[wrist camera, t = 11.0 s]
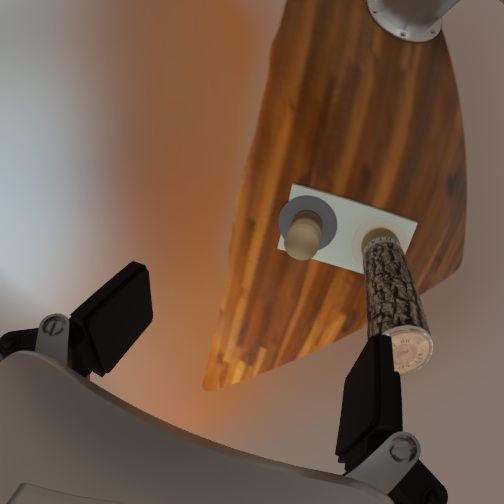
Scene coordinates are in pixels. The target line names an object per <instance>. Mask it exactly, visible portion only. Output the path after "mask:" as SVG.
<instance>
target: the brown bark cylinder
mask: <svg viewBox="0 0 504 504" xmlns="http://www.w3.org/2000/svg"><path fill="white" fill-rule="evenodd" d="M361 251H362V261H363V272H364V283H365V296H366V311H367V334H368V340H369V338H370V336H375V335H376V334H377V333H380V334H384V335H388V336H391V339H392V348H393V359H394V371H398V372H399V374H400V376H402V375H406V374H409V373H412V372H414V371H416V370H418V369H419V368H421V367H422V366H423V365H424V364H425V363H426V362H427V361H428V360H429V358H430V356H431V354H432V351H433V343H432V338H431V334H430V330H429V327H428V323H427V319H426V316H425V313H424V310H423V306H422V303H421V300H420V297H419V294H418V291H417V288H416V285H415V282H414V279H413V276H412V273H411V270H410V268H409V265H408V262H407V260H406V257H405V254H404V252H403V249H402V247H401V245H400V242H399V240H398V238H397V236H396V235H395V234H394V233H393V232H392V231H390V230H388V229H384V228H378V229H374V230H372V231H370V232H369V233H368V234H367V235H366V236H365V237H364V239H363V241H362V245H361Z"/></svg>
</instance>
